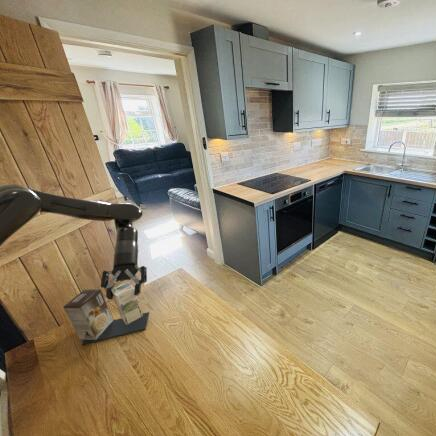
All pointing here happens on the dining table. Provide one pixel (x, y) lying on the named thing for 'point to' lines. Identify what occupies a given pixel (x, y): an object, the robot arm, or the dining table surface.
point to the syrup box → (127, 302)
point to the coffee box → (89, 314)
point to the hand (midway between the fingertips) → (123, 297)
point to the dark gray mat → (121, 328)
